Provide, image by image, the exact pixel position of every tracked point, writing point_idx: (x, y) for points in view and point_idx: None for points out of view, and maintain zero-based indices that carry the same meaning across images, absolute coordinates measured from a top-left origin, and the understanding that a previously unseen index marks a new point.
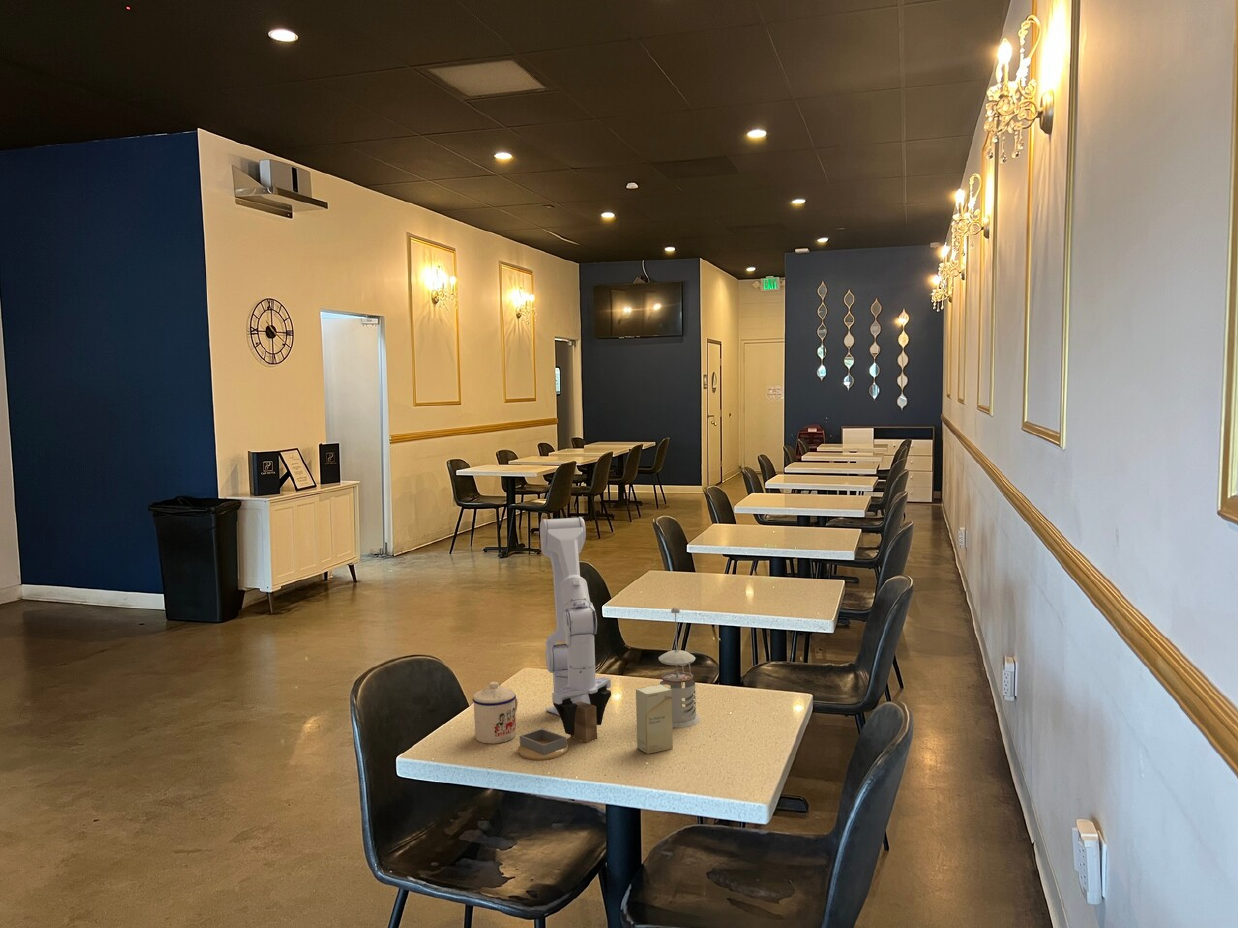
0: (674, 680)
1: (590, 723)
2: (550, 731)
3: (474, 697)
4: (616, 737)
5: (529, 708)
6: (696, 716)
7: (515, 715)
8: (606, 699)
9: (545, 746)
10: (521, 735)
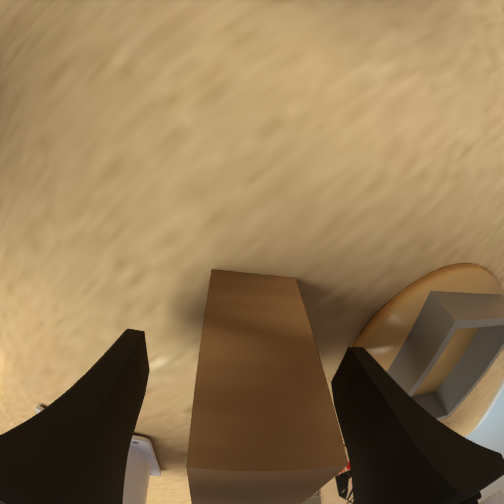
0: None
1: (269, 350)
2: None
3: None
4: (121, 193)
5: (178, 485)
6: None
7: (352, 492)
8: (29, 449)
9: None
10: (444, 417)
